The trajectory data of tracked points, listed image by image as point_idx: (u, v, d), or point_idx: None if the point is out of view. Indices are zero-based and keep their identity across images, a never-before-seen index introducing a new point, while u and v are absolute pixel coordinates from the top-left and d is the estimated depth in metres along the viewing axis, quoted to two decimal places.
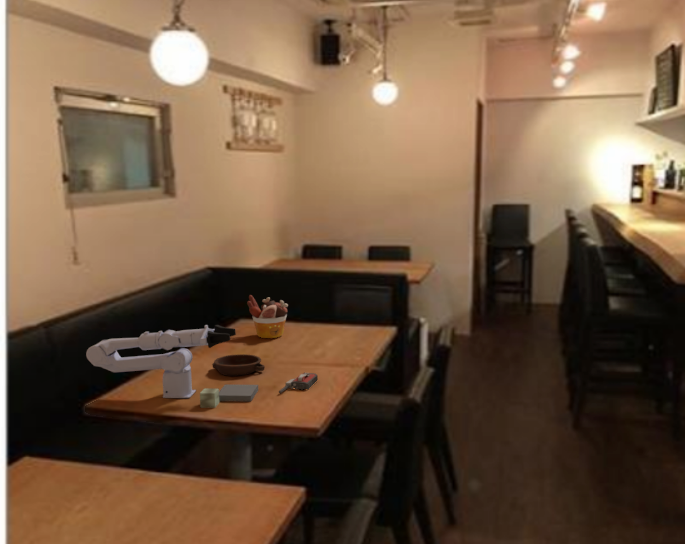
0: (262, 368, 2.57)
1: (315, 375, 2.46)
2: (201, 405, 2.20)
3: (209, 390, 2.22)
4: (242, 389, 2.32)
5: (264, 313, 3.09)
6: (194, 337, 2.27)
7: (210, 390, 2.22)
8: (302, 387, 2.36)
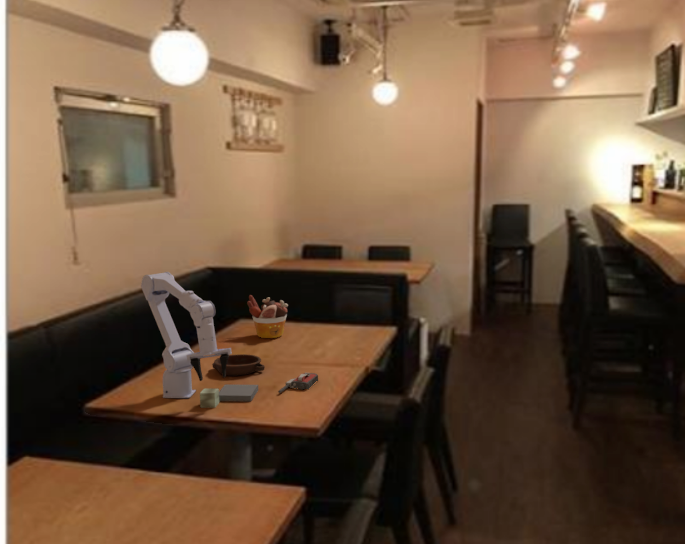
0: (262, 368, 2.57)
1: (316, 375, 2.46)
2: (201, 405, 2.20)
3: (209, 390, 2.22)
4: (242, 389, 2.32)
5: (264, 313, 3.09)
6: None
7: (210, 390, 2.22)
8: (302, 387, 2.36)
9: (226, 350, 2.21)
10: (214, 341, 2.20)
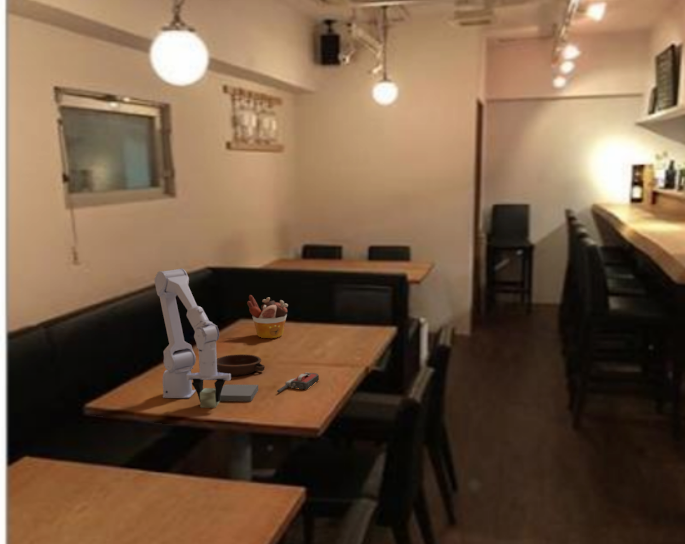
0: (262, 368, 2.57)
1: (316, 375, 2.46)
2: (201, 405, 2.20)
3: (209, 390, 2.22)
4: (242, 389, 2.32)
5: (264, 313, 3.09)
6: (199, 364, 2.20)
7: (210, 390, 2.22)
8: (301, 387, 2.37)
9: (225, 376, 2.20)
10: (214, 366, 2.19)
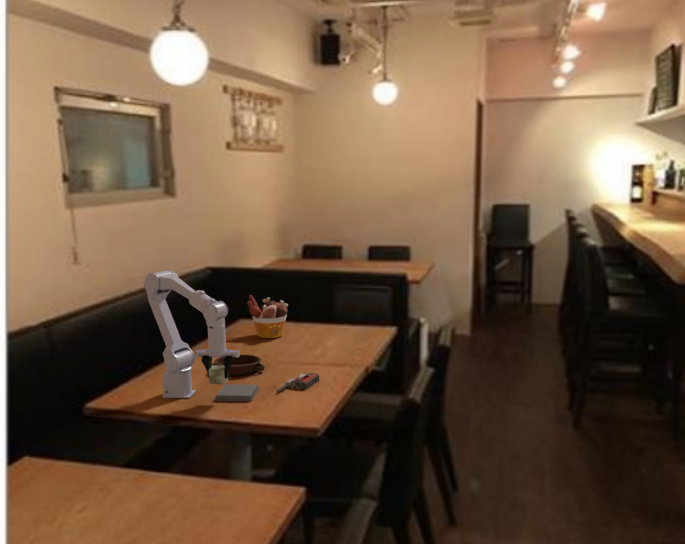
0: (262, 368, 2.57)
1: (316, 375, 2.46)
2: (210, 381, 2.22)
3: (218, 367, 2.24)
4: (242, 389, 2.32)
5: (264, 313, 3.09)
6: None
7: (219, 367, 2.24)
8: (301, 387, 2.37)
9: (234, 353, 2.22)
10: (223, 342, 2.21)
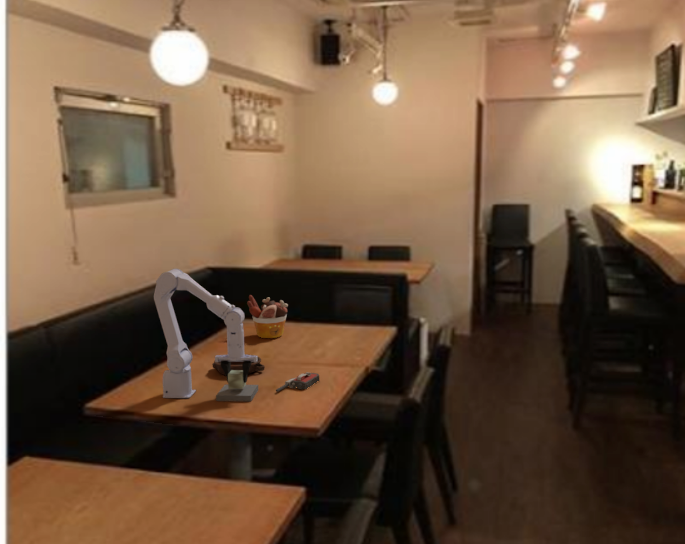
0: (262, 368, 2.57)
1: (317, 375, 2.46)
2: (229, 386, 2.29)
3: (236, 372, 2.31)
4: (242, 389, 2.32)
5: (264, 313, 3.09)
6: (227, 347, 2.29)
7: (237, 372, 2.31)
8: (300, 387, 2.37)
9: (252, 358, 2.28)
10: (242, 348, 2.28)
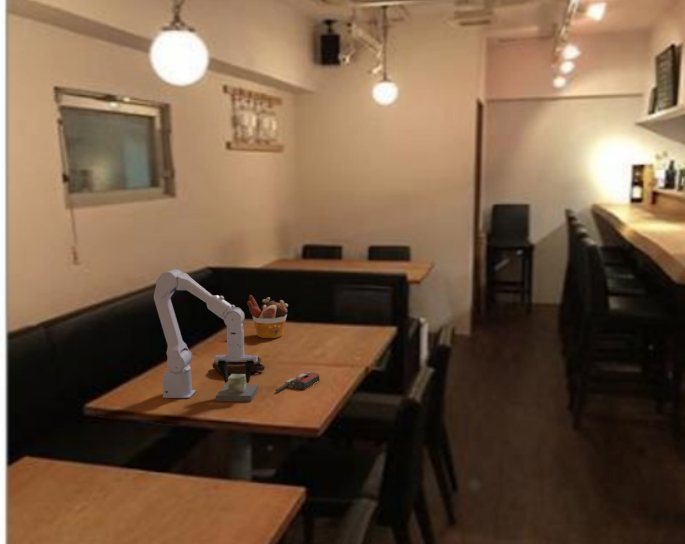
0: (262, 368, 2.57)
1: (317, 375, 2.46)
2: (229, 390, 2.29)
3: (236, 375, 2.31)
4: None
5: (264, 313, 3.09)
6: (227, 347, 2.29)
7: (237, 375, 2.31)
8: (300, 386, 2.37)
9: (252, 358, 2.28)
10: (242, 348, 2.28)
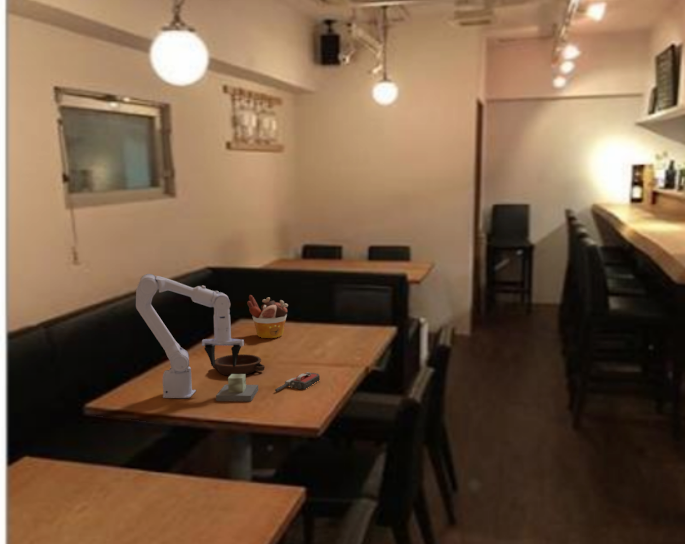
0: (262, 368, 2.57)
1: (317, 375, 2.46)
2: (229, 390, 2.29)
3: (236, 375, 2.31)
4: None
5: (264, 313, 3.09)
6: (214, 331, 2.34)
7: (237, 375, 2.31)
8: (300, 387, 2.37)
9: (238, 342, 2.33)
10: (228, 332, 2.33)
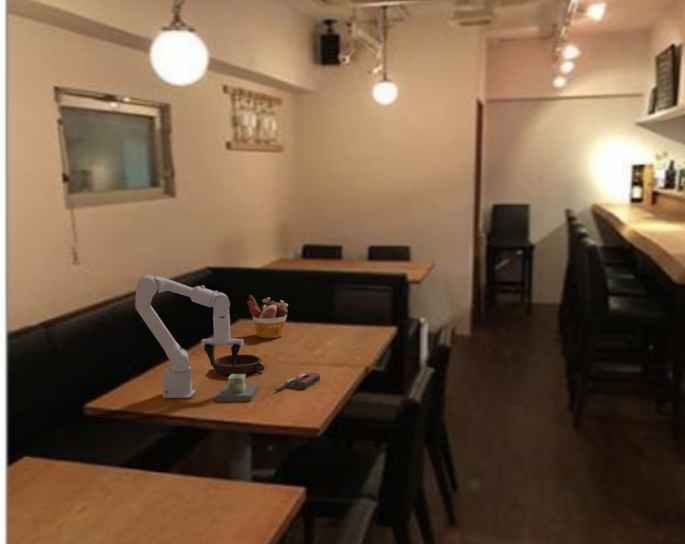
0: (262, 368, 2.57)
1: (317, 375, 2.46)
2: (229, 390, 2.29)
3: (236, 375, 2.31)
4: None
5: (264, 313, 3.09)
6: None
7: (237, 375, 2.31)
8: (300, 386, 2.37)
9: (238, 341, 2.33)
10: (228, 331, 2.33)
